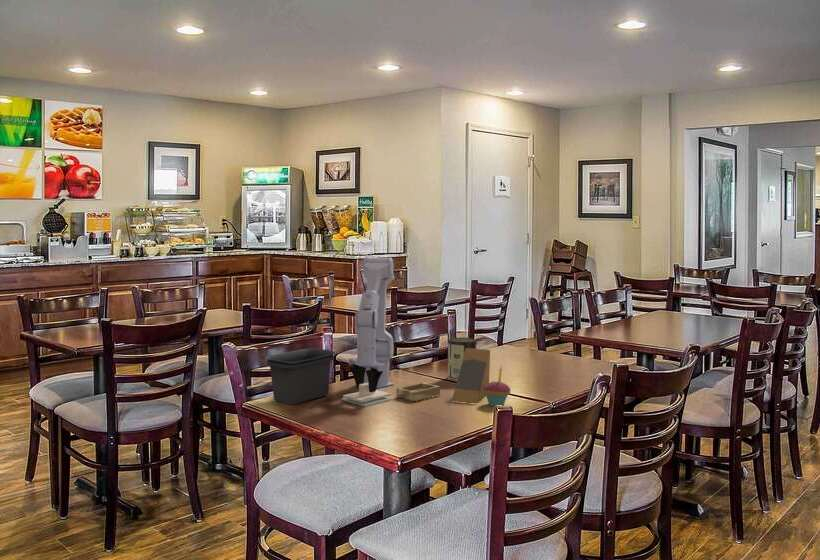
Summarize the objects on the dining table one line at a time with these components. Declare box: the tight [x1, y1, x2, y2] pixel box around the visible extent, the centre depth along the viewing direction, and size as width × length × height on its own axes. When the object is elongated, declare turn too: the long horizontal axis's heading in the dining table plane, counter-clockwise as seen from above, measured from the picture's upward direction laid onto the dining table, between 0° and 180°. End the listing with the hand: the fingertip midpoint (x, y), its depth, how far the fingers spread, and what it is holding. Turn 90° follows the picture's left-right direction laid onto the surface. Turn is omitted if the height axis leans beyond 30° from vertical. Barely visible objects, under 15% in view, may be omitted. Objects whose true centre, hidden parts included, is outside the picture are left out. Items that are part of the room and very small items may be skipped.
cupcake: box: [483, 365, 511, 407], centre depth 230 cm, size 9×8×12 cm
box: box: [395, 382, 441, 402], centre depth 240 cm, size 8×12×3 cm, turn 136°
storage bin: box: [265, 347, 336, 406], centre depth 236 cm, size 21×16×14 cm
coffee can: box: [447, 337, 478, 382], centre depth 267 cm, size 10×10×14 cm
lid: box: [342, 383, 392, 403], centre depth 234 cm, size 9×13×5 cm
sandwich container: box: [451, 348, 491, 405], centre depth 238 cm, size 9×15×15 cm, turn 159°
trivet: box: [341, 396, 392, 407], centre depth 234 cm, size 11×11×1 cm
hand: (366, 390), depth 234 cm, fingers open, 5 cm apart
